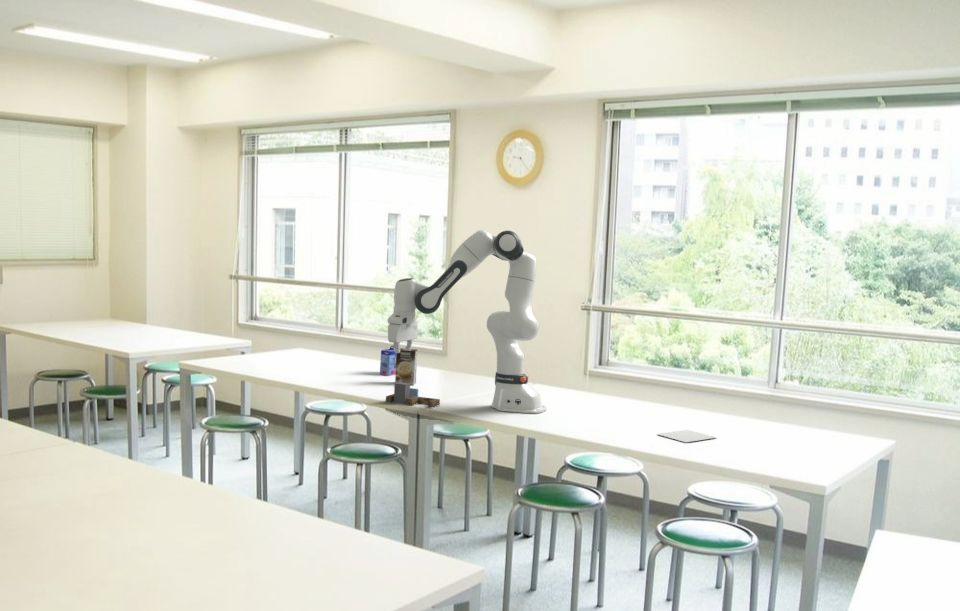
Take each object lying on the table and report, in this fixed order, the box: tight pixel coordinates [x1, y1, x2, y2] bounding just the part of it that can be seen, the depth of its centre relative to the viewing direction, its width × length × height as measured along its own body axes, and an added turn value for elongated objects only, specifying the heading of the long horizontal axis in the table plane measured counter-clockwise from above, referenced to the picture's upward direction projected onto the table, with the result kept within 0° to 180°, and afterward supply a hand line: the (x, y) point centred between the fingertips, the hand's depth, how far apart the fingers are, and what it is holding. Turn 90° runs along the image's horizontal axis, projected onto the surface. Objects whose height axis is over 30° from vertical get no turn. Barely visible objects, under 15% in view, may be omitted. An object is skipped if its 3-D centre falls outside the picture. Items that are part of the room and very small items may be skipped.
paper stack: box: [657, 429, 718, 443], centre depth 306 cm, size 23×25×1 cm
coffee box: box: [394, 347, 418, 386], centre depth 398 cm, size 9×6×16 cm
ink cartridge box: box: [379, 345, 396, 377], centre depth 424 cm, size 10×6×14 cm, turn 153°
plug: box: [393, 382, 411, 405], centre depth 354 cm, size 5×4×8 cm
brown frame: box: [385, 387, 441, 408], centre depth 353 cm, size 21×10×5 cm, turn 68°
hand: (402, 351), depth 352 cm, fingers open, 8 cm apart
